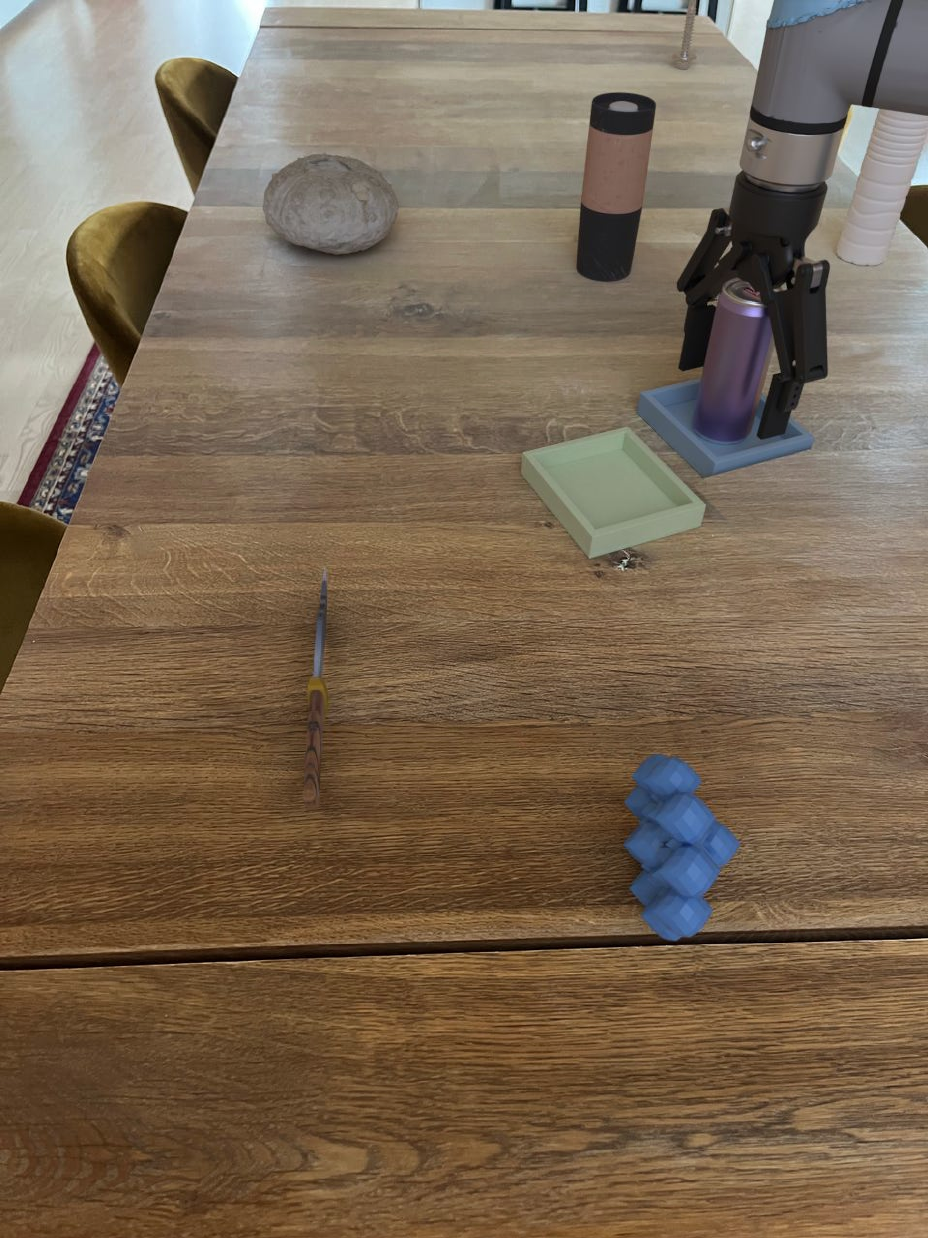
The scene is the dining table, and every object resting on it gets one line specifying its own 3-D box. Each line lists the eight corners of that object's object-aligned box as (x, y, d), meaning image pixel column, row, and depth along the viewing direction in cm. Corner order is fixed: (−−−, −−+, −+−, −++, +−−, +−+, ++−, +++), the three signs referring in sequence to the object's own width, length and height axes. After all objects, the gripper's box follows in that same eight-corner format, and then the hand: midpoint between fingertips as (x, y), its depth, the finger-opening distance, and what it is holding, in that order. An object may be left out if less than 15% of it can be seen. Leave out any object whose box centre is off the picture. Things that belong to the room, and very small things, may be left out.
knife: (319, 586, 79) (313, 541, 75) (336, 586, 79) (331, 540, 76) (304, 843, 62) (296, 799, 58) (326, 841, 62) (318, 798, 58)
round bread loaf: (422, 230, 131) (420, 154, 124) (359, 281, 119) (354, 201, 112) (311, 207, 136) (304, 133, 129) (241, 254, 125) (229, 175, 117)
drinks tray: (808, 457, 93) (815, 436, 92) (710, 484, 90) (715, 463, 88) (728, 390, 102) (733, 369, 100) (636, 412, 99) (639, 391, 97)
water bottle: (837, 242, 130) (898, 35, 112) (886, 250, 128) (956, 41, 111) (832, 268, 124) (896, 54, 106) (884, 276, 123) (957, 60, 105)
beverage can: (721, 453, 93) (757, 311, 82) (678, 426, 96) (707, 285, 86) (762, 434, 95) (802, 293, 85) (718, 408, 99) (751, 269, 88)
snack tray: (700, 526, 85) (706, 504, 84) (589, 559, 82) (592, 537, 80) (624, 447, 94) (627, 425, 92) (520, 473, 91) (522, 451, 89)
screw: (684, 62, 192) (699, 68, 189) (665, 65, 190) (680, 71, 187) (696, -13, 183) (712, -8, 180) (676, -11, 181) (692, -5, 178)
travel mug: (563, 263, 124) (578, 96, 110) (611, 252, 127) (632, 88, 113) (594, 287, 119) (615, 115, 105) (644, 275, 122) (670, 106, 108)
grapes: (741, 986, 55) (795, 881, 47) (626, 987, 55) (660, 883, 47) (701, 816, 63) (740, 701, 55) (601, 817, 63) (626, 702, 55)
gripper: (664, 133, 85) (631, 348, 100) (846, 240, 69) (775, 477, 84) (733, 123, 87) (691, 335, 102) (925, 224, 71) (842, 458, 86)
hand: (728, 399), depth 93 cm, fingers open, 13 cm apart
